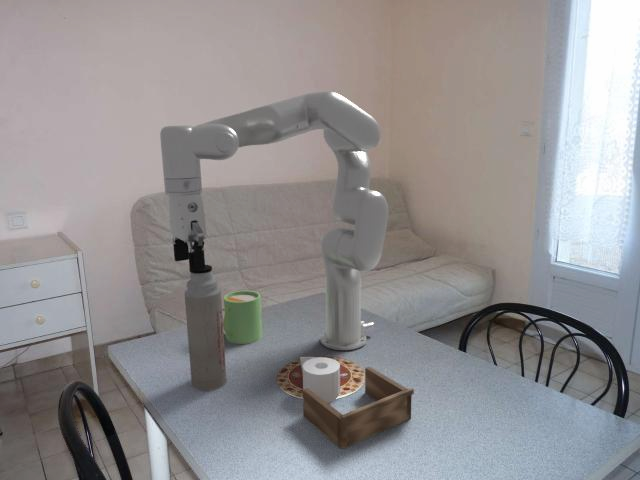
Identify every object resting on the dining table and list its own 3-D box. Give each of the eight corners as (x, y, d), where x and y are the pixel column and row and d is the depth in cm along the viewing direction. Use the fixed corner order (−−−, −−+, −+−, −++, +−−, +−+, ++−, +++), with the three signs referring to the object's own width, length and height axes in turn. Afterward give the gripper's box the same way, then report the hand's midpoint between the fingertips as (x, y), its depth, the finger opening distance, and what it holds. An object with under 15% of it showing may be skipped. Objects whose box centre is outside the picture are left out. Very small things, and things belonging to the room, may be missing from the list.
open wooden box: (369, 391, 113) (369, 363, 112) (413, 419, 102) (413, 389, 101) (303, 416, 104) (302, 386, 102) (343, 450, 93) (343, 417, 91)
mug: (243, 326, 151) (240, 288, 149) (269, 334, 145) (267, 294, 143) (211, 341, 141) (208, 300, 139) (238, 350, 135) (235, 307, 133)
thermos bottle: (231, 375, 122) (224, 262, 116) (218, 392, 114) (210, 272, 108) (200, 372, 123) (192, 261, 117) (185, 389, 116) (175, 270, 110)
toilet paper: (304, 379, 120) (303, 351, 118) (346, 390, 114) (346, 362, 112) (284, 394, 113) (283, 366, 111) (328, 408, 107) (328, 378, 106)
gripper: (216, 188, 101) (221, 271, 105) (186, 181, 115) (192, 254, 119) (179, 191, 97) (186, 277, 101) (153, 184, 111) (160, 259, 115)
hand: (189, 264), depth 110 cm, fingers open, 9 cm apart
